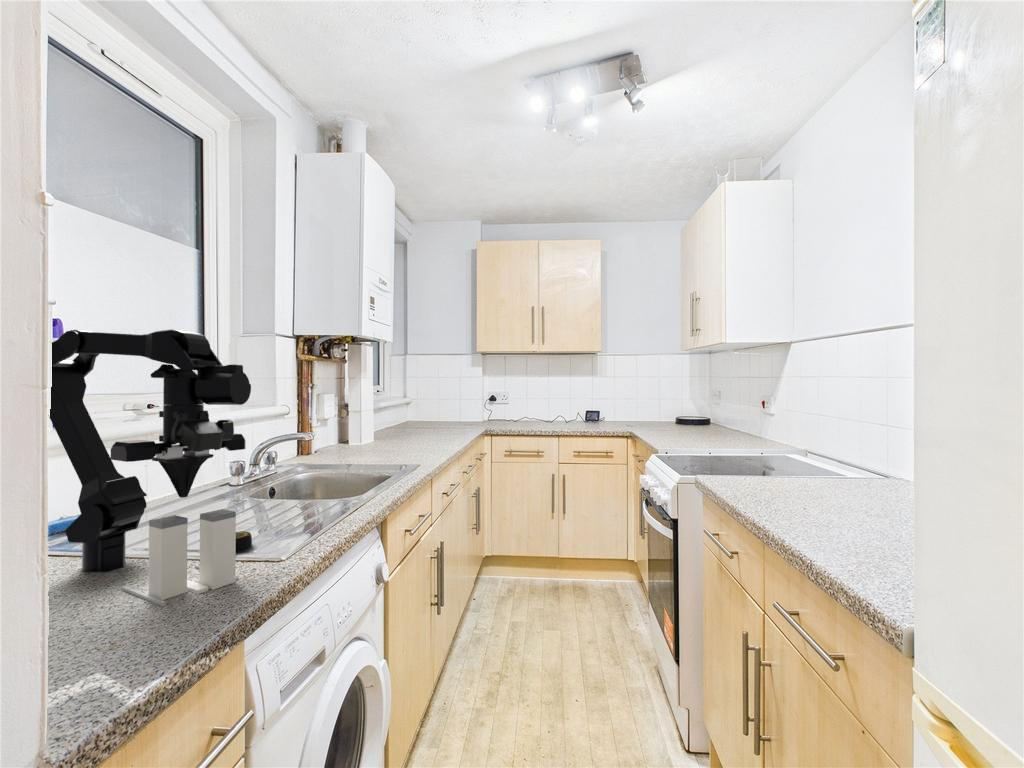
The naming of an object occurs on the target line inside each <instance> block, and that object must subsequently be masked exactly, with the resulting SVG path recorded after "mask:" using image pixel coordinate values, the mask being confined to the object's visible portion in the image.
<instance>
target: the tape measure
mask: <svg viewBox="0 0 1024 768" xmlns="http://www.w3.org/2000/svg"><path fill="white" fill-rule="evenodd" d="M252 538H253V537H252V534H251V532H249V531H245V530H243V531H236V554H238V553H241V552H245V551H248V550H249V549H250V548H251V547H253V539H252Z"/></svg>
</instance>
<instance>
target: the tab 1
mask: <svg viewBox="0 0 1024 768" xmlns="http://www.w3.org/2000/svg"><path fill="white" fill-rule="evenodd" d="M187 580H188V517H184V516H180V515H177V514H176V515H175V514H174V515H170V516H164V517H160V518H155V519H149V520H148V595H150V596H153V597H155V598H158V599H160V600H163V601H165V600H167V599H170V598H173V597H176V596H179V595H182V594H185V593H188V591H187Z"/></svg>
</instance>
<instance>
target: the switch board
mask: <svg viewBox="0 0 1024 768" xmlns="http://www.w3.org/2000/svg"><path fill="white" fill-rule="evenodd" d="M194 568H195V569H196V570H199V571H200V564H196V565H194ZM239 579H240V577H239V576H238V575H237V576H236V575H235V582H237V581H239ZM121 591H123V592H126V593H128V594H131V595H133V596H136V597H138V598H139V599H140V598H141V599H143V600H145V601H148V602H150V603H153V604H155V605H156V606H157V605H158V606H161V607H164V606H167V601H165V600H160V599H158V598H155V597H153V596H150V595H149V594H148V593H144V592H142V591H139V590H138V589H134V588H132V587H130V586H127V585H125V586H121ZM208 591H209V588H208V586H205V585H202V584H200V582H196V581H193V580H191V579H187V592H191V593H192V594H195V595H199V594H202V593H205V592H208Z"/></svg>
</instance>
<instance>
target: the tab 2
mask: <svg viewBox="0 0 1024 768" xmlns="http://www.w3.org/2000/svg"><path fill="white" fill-rule="evenodd" d="M236 513H237V512H236V511H234V510H229V509H225V508H224V509H223V508H222V509H216V510H213V511H208V512H203V513H199V565H200V570H199V584H202V585H205V586H208V590H212V591H214V590H216V589H219V588H222V587H225V586H228V585H230V584H233V583H236V581H235V576H236V554H237V553H236V532H237V531H236V530H237V529H236V526H237V524H236V523H237V522H236V521H237V519H236V518H237V517H236V516H237V515H236Z"/></svg>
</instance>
